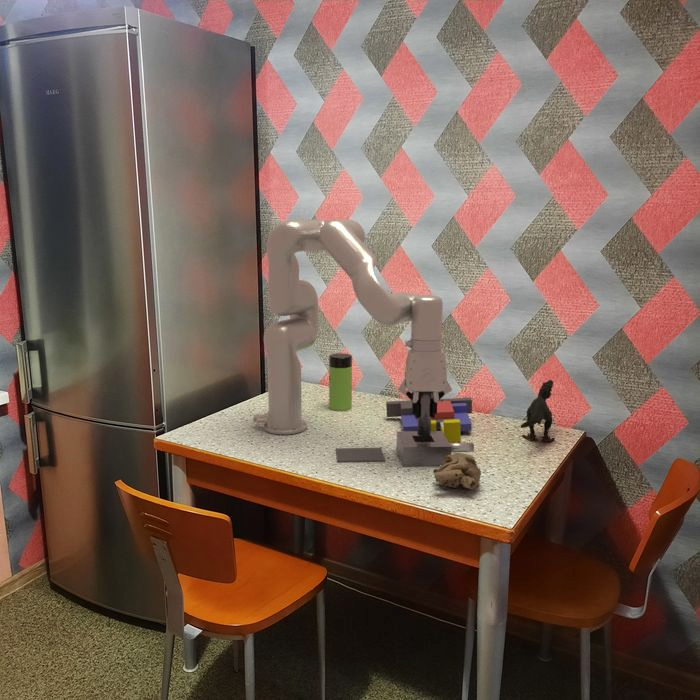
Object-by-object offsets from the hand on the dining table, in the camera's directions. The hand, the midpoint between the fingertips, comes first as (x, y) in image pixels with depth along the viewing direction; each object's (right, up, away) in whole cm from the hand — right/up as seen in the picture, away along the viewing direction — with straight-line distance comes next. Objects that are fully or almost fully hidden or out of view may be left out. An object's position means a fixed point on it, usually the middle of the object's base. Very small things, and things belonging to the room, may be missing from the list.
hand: (424, 415), depth 162 cm
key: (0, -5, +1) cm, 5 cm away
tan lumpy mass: (+6, -15, -15) cm, 22 cm away
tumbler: (-22, -2, +45) cm, 50 cm away
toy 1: (+5, -7, +26) cm, 27 cm away
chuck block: (+3, -11, +2) cm, 12 cm away
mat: (-16, -11, +3) cm, 20 cm away
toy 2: (+32, -9, +14) cm, 36 cm away
